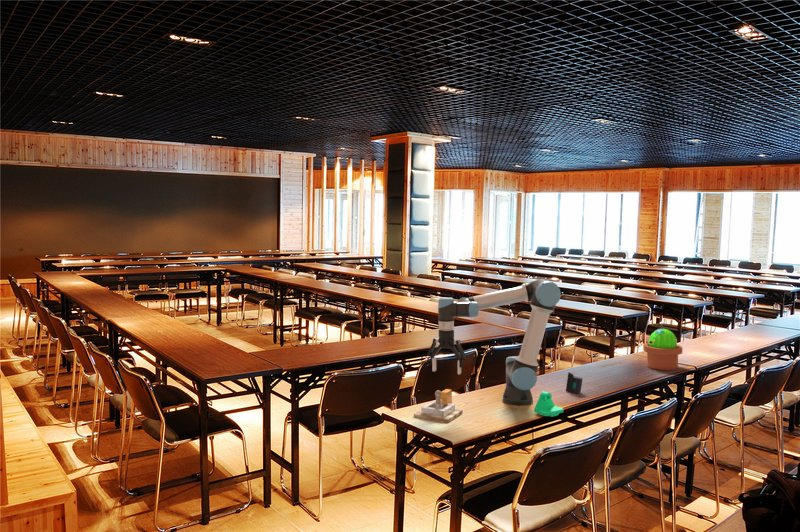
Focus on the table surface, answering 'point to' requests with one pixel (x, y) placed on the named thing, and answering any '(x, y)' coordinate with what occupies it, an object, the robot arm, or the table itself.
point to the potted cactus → (662, 350)
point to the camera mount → (547, 406)
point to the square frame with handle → (445, 405)
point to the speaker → (574, 383)
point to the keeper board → (445, 419)
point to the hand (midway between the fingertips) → (446, 372)
